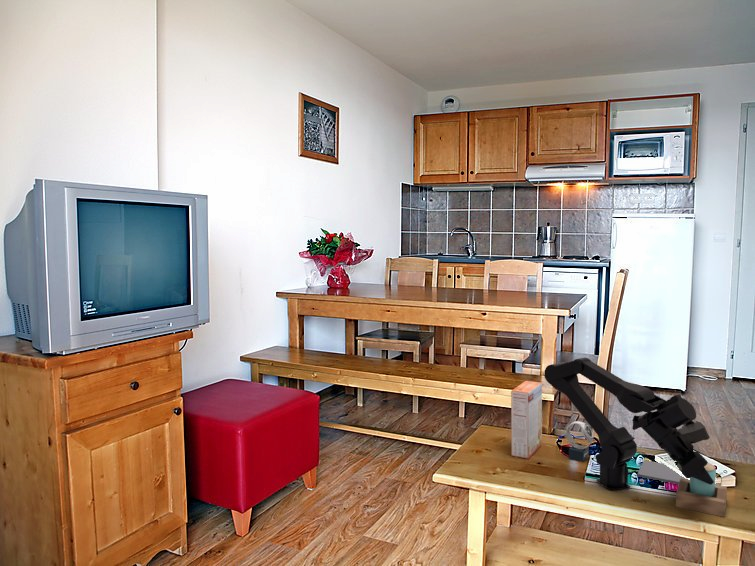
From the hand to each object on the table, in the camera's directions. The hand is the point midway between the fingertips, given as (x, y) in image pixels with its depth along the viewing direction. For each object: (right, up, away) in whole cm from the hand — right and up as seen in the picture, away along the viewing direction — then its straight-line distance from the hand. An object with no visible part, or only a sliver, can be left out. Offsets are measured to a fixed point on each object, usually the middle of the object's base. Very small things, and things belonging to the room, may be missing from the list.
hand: (708, 478), depth 150 cm
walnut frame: (-1, -7, +1) cm, 7 cm away
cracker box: (-36, -4, +38) cm, 53 cm away
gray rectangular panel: (+1, -5, +17) cm, 18 cm away
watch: (-22, -4, +32) cm, 39 cm away
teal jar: (-1, -7, +1) cm, 7 cm away
